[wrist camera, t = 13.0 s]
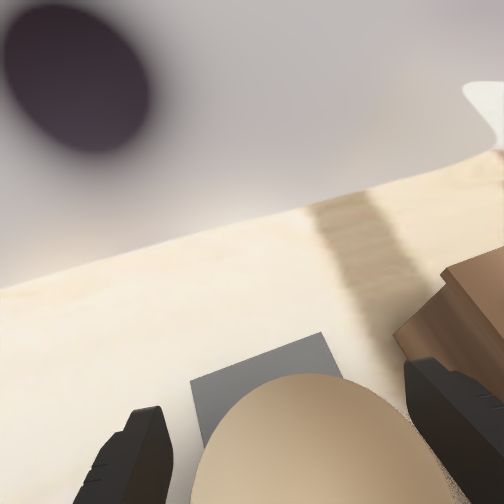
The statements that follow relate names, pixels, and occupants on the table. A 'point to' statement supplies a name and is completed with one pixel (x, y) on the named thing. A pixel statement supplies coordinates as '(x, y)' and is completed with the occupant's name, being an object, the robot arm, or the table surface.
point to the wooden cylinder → (317, 449)
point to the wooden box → (464, 322)
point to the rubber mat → (257, 378)
